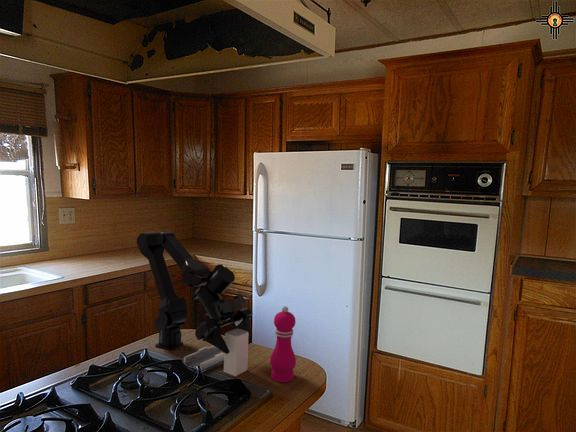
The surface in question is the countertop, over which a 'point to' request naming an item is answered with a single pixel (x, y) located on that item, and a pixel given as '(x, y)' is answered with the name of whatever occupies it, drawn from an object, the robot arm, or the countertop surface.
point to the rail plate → (205, 358)
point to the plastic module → (236, 352)
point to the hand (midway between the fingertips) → (239, 348)
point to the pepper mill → (283, 347)
